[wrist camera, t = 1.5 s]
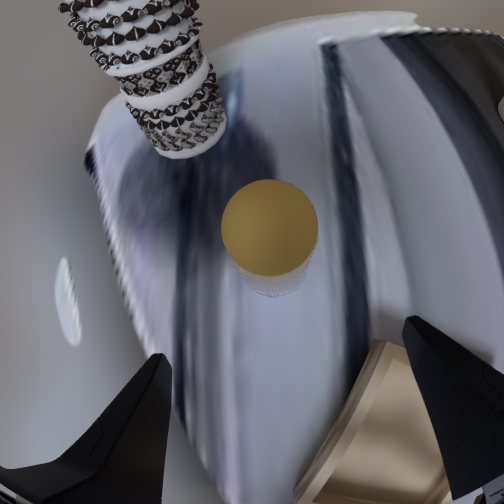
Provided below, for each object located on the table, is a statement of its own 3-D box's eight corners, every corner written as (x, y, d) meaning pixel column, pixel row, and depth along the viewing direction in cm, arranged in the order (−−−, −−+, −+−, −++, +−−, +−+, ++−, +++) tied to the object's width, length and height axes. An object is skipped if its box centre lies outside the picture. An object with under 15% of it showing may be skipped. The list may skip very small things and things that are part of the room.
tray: (421, 510, 15) (432, 523, 12) (293, 489, 18) (294, 506, 15) (491, 382, 18) (509, 385, 15) (373, 339, 21) (386, 340, 18)
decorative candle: (247, 133, 27) (191, -121, 3) (164, 178, 27) (12, -44, 2) (209, 87, 29) (150, -102, 5) (139, 124, 29) (34, -48, 5)
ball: (293, 296, 16) (298, 283, 12) (216, 263, 17) (192, 237, 12) (324, 221, 17) (338, 182, 13) (251, 192, 18) (240, 148, 13)
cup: (290, 306, 22) (295, 297, 16) (231, 280, 23) (210, 260, 17) (315, 247, 23) (328, 215, 17) (257, 224, 24) (248, 185, 18)
